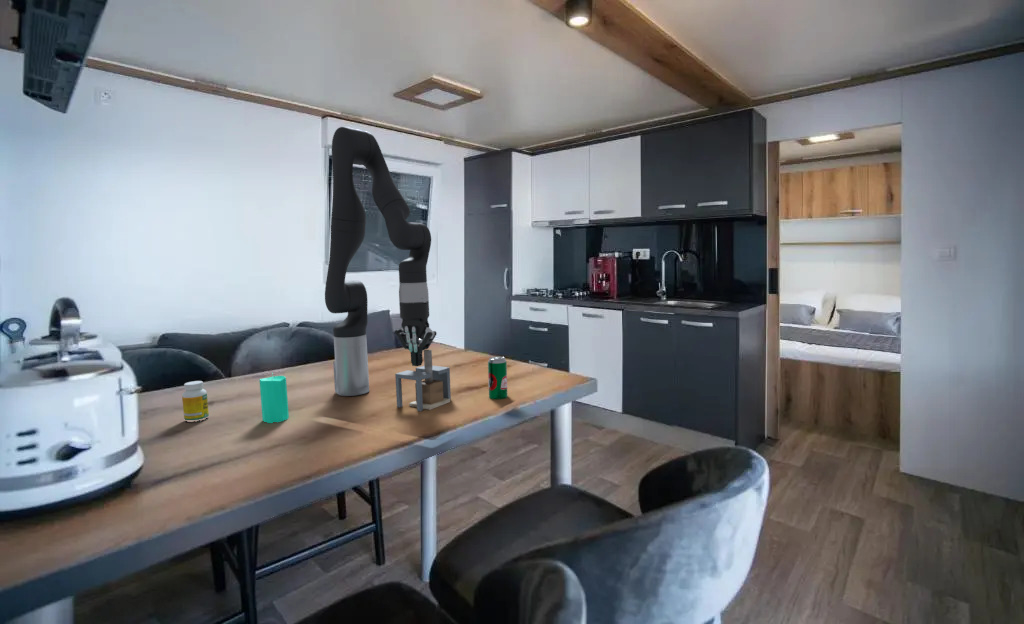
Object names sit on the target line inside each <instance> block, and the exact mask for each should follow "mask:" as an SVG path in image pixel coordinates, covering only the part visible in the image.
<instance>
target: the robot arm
mask: <svg viewBox="0 0 1024 624" xmlns="http://www.w3.org/2000/svg"><path fill="white" fill-rule="evenodd" d="M354 165H356V166H364V168H366V170H367V171H368V172H369V174H370V176H371V177H372V187H371V193H372V198H373V201H374V204H375V205H376V207H377V208H378V210H379V212H380V214H381V215H382V216H383V219H384V222H385V226H386V230H387V234H388V237H389V240H390V242H391V244H392V245H393V246H394V247H396V248H397V249H399V250H401V251H409V255H408V257H407V258H406V259H403V260H402V261H400V262H399V263H398V280H399V282H398V283H399V286H398V301H399V317H400V319H402V321H401V325H400V326H401V327H400V328H399V329H395V331H394V332H395V335H396V336H397V338H398V341H400V342H399V343H401V344H402V347H403V348H404V349H405V350H408V351H409V352H410V363H411V366H413V367H421V366H423V365H422V364H423V363H424V357H423V352H424V350H429V348H430V346H431V345H432V343H433V341H434V339H435V337H436V336H437V334H438V333H437V331H436V330H432V329H431V328H430V323H429V317H430V302H429V301H430V300H429V298H430V297H429V286H428V279H427V265H428V262H429V261H428V260H429V255H430V251H431V245H432V234H431V231H430V229H429V228H428V226H427V225H426V224H425V223H422V222H412V221H411V222H410V221H407V220H408V218H409V217H410V214H411V209H410V207H409V205H408V203H407V201H406V199H405V198H404V197H403V194H401V192H400V190H399V189H398V187H397V186H396V184H395V183H396V182H395V181H394V179H393V177H392V174H391V172H390V170H389V168H388V165H387V163H386V160H385V157H384V155H383V152H382V150H381V147H380V145H379V142H378V141H377V139H376V137H375V136H374V135H373V134H372V133H371V132H369V131H366V130H363V129H357V128H352V127H349V126H339V127H338V128H337V129H336V130H335V131H334V133H333V136H332V140H331V166H332V168H331V169H332V202H331V203H332V205H331V215H330V216H331V219H330V243H329V258H328V267H327V272H326V273H327V274H326V279H325V280H326V283H325V288H324V302H325V306H326V309H327V310H328V311H329V312H330V313H331V314H345V313H347V316H346V317H345V319H344V320H342V321H341V322H340V323H338V324H336V325H335V326H334V327H333V330H332V331H333V332H332V333H333V334H332V335H333V346H334V347H333V349H334V351H333V352H334V361H333V362H332V364H333V380H334V393H336V394H337V395H338V396H340V397H341V396H342V397H351V396H352V397H353V396H354V397H355V396H360V395H365V394H367V393H370V379H369V377H370V376H369V364H368V363H369V362H368V361H369V358H368V344H367V343H368V341H367V326H368V321H369V319H368V292H367V288H366V286H365V284H364V283H363V282H362V281H361V280H346V275H347V271H348V267H349V264H350V262H351V260H352V259H353V258H354V256H355V255H356V253H357V252H358V250H359V249H360V247H361V245H362V244H363V242H364V239H365V236H366V235H365V234H366V224H367V223H366V222H367V221H366V219H367V216H366V210H365V207H364V205H363V202H362V201H361V198H360V195H359V194H358V192H357V190H356V187H355V182H354V171H353V170H354Z"/></svg>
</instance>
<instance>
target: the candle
mask: <svg viewBox="0 0 1024 624" xmlns="http://www.w3.org/2000/svg"><path fill="white" fill-rule="evenodd" d="M271 375H272V376H269V377H263V378H259V379H258V380H259V393H260V404H261V405H260V406H261V417H262V422H263V421H264V422H267V423H266V424H274V423H273V422H277V423H280V422H285V421H286V420H287V421H288V419H289V418H290V416H289V415H290V414H289V411H290V410H289V401H288V388H287V387H288V386H287V377H286V376H285V375H275V376H274V373H273V372H271ZM284 420H285V421H284ZM264 422H263V423H264Z"/></svg>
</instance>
